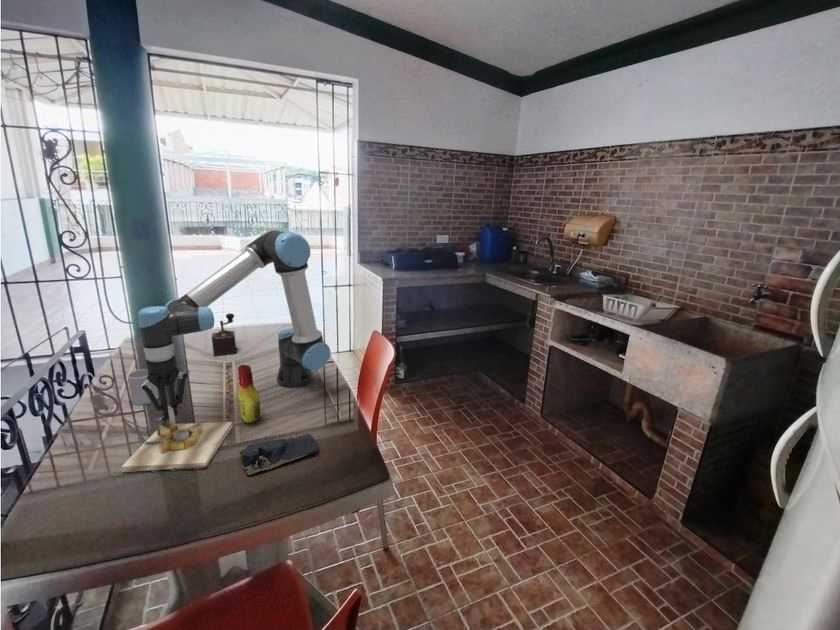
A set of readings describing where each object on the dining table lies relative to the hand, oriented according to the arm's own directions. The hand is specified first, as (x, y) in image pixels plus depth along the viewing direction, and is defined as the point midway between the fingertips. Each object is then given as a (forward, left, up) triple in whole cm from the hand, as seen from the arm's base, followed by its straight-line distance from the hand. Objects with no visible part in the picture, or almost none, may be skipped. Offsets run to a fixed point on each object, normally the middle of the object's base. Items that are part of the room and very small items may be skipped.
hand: (172, 426), depth 124 cm
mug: (+22, -29, -4) cm, 37 cm away
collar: (-3, +4, -2) cm, 5 cm away
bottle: (-21, -11, -4) cm, 23 cm away
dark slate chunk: (-36, +12, -5) cm, 38 cm away
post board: (-6, +6, -4) cm, 9 cm away
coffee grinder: (+11, -81, -4) cm, 82 cm away
